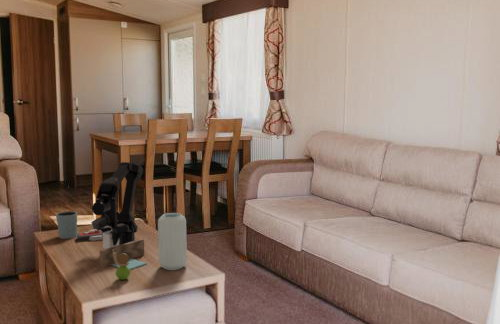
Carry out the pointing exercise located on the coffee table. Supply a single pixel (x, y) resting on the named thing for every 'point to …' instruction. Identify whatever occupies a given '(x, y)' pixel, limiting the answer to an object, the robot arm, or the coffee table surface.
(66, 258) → the coffee table surface
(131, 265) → the teal mat
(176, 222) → the vase
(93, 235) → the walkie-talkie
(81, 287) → the coffee table surface
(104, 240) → the white rectangular block
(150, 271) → the coffee table surface
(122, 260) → the snail figurine
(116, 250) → the walnut screen
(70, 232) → the grey-blue cup
